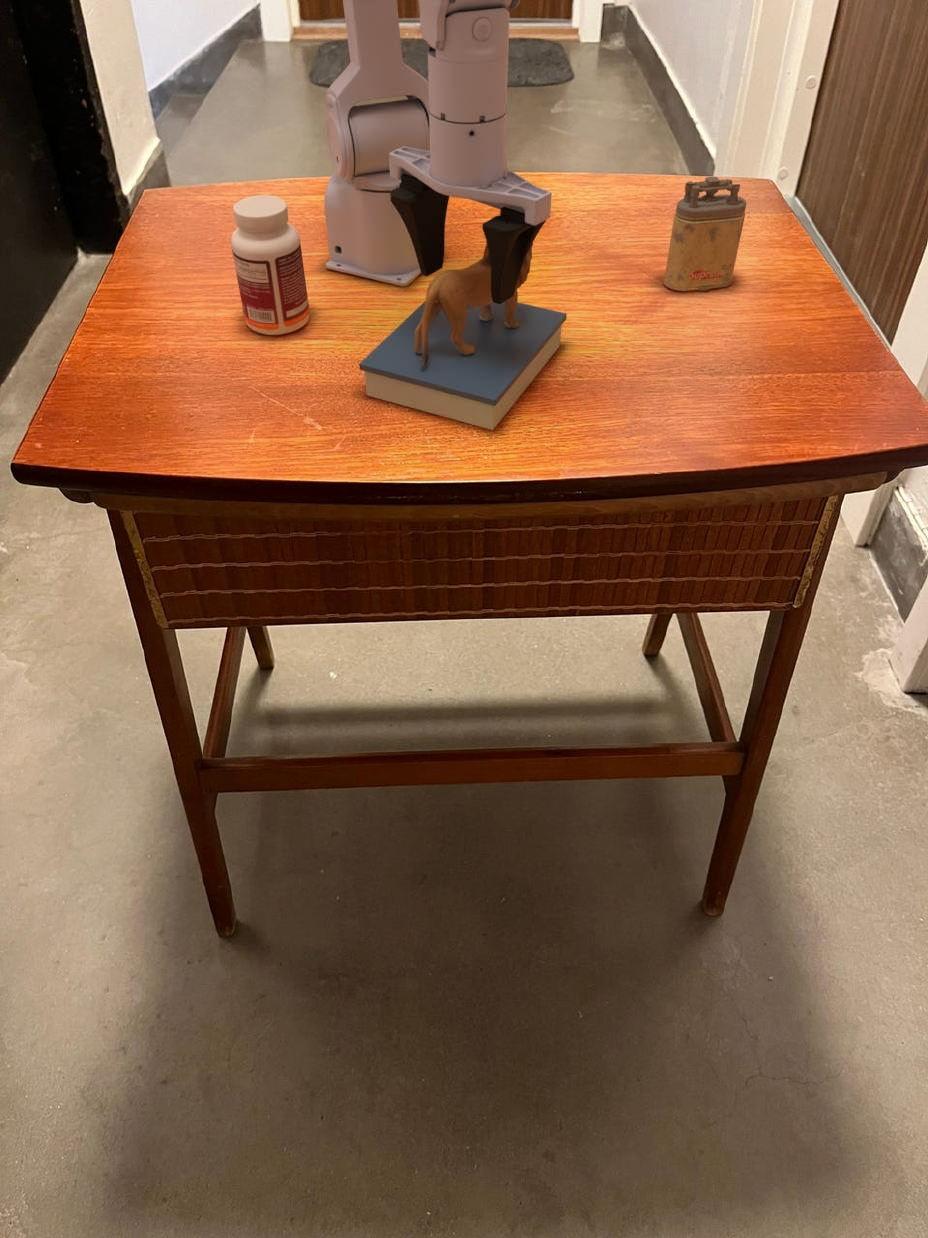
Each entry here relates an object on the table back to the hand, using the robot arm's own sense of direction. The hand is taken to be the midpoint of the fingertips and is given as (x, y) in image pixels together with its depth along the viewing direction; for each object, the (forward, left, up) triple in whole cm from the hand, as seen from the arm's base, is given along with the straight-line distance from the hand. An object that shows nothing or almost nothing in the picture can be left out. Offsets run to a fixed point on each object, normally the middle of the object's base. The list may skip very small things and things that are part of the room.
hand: (466, 284), depth 82 cm
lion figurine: (0, +1, -5) cm, 5 cm away
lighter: (+14, +25, -8) cm, 30 cm away
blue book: (0, 0, -8) cm, 8 cm away
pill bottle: (-20, 0, -8) cm, 22 cm away
